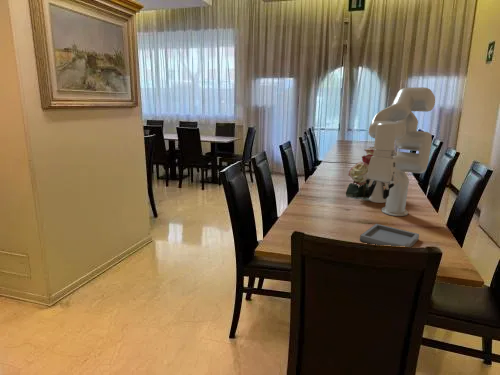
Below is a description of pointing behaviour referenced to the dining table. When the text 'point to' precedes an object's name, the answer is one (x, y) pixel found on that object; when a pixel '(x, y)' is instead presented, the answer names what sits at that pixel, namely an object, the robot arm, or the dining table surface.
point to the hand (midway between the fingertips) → (378, 196)
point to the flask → (378, 193)
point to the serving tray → (389, 236)
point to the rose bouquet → (360, 178)
